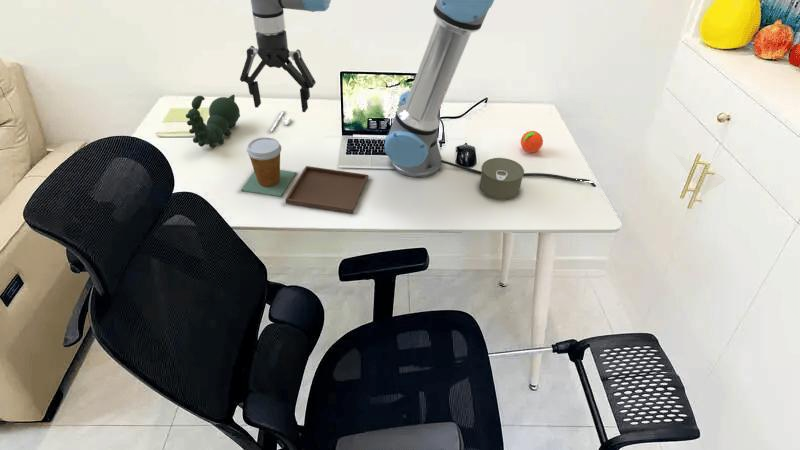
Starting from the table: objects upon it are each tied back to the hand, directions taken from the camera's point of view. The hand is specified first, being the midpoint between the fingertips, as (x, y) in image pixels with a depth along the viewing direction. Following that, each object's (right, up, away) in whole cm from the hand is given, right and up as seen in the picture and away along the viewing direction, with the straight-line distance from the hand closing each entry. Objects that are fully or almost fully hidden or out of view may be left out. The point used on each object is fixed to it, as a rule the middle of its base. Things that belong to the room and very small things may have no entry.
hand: (281, 107), depth 149 cm
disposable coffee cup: (-5, -20, +8) cm, 22 cm away
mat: (-5, -20, +8) cm, 22 cm away
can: (+62, -22, +9) cm, 66 cm away
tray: (+12, -23, +6) cm, 26 cm away
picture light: (-7, +2, +35) cm, 36 cm away
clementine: (+74, -9, +26) cm, 79 cm away
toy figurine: (-26, -4, +27) cm, 38 cm away
